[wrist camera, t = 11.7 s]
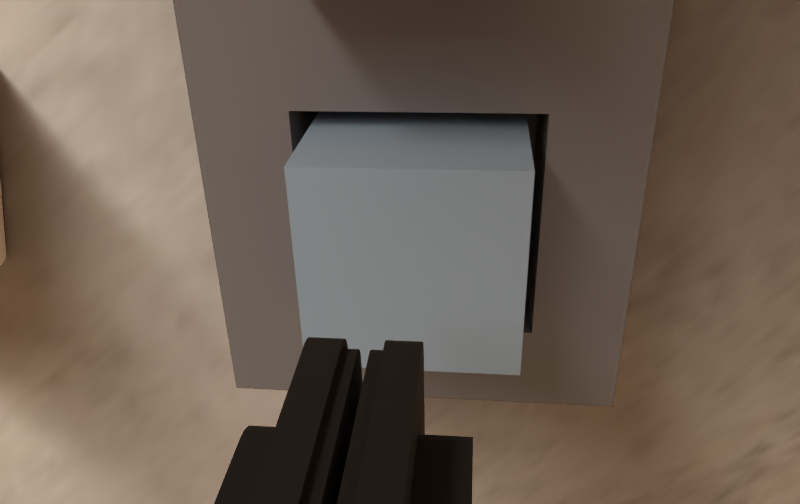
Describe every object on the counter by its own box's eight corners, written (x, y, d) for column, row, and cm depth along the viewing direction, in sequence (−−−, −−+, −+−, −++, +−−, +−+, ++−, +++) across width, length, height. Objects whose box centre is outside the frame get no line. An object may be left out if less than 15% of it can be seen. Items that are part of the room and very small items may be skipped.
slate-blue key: (319, 110, 17) (283, 166, 14) (525, 112, 17) (535, 171, 14) (333, 284, 20) (304, 365, 16) (514, 290, 19) (520, 375, 16)
